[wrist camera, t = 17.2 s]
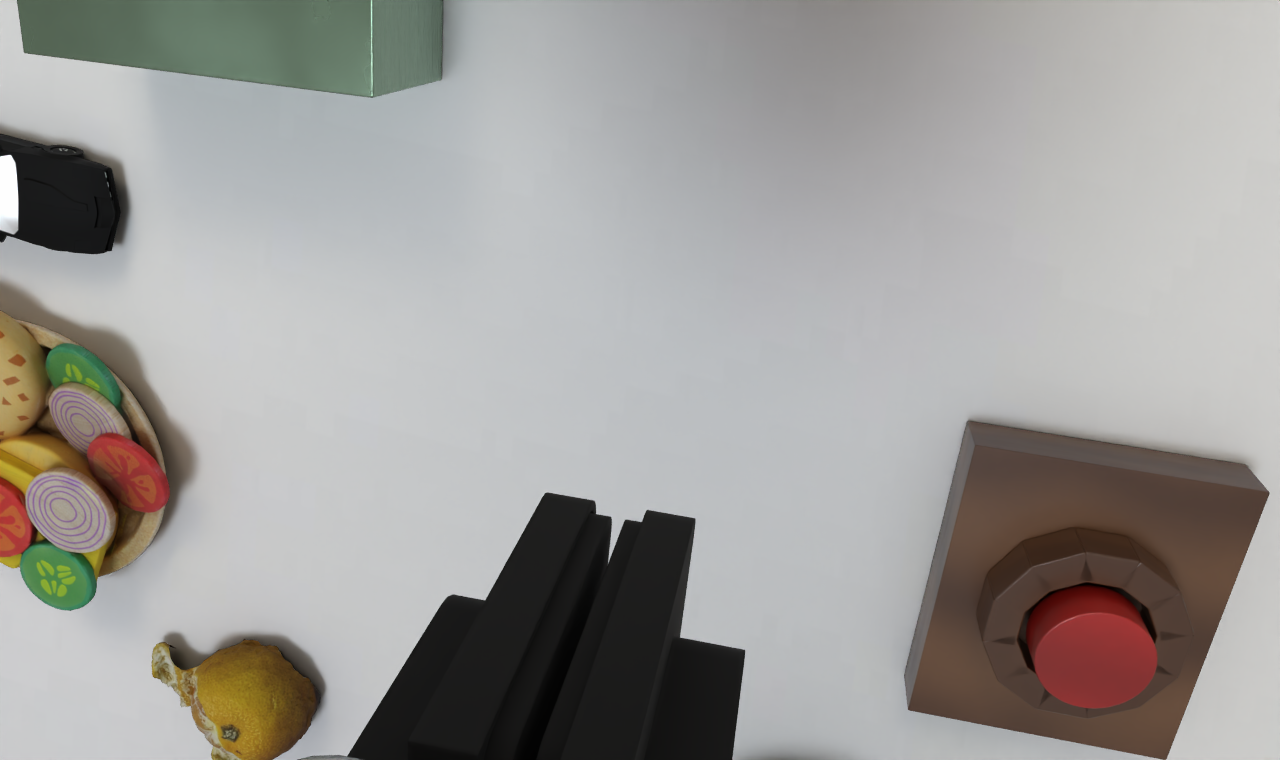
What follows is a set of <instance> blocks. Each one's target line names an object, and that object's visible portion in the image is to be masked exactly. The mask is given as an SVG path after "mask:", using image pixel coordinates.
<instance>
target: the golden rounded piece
mask: <svg viewBox="0 0 1280 760" xmlns="http://www.w3.org/2000/svg"><path fill="white" fill-rule="evenodd" d="M169 646H170V647H173V646H171V645H169V644H167V643H165V642H161V643H158V644H156V646H155V647H154V649H153V654H152V659H153V660H152V675H153V677H154V678H158V679H160V680H161V681H162V683H165V684H167V686H168V687H169V686H172V687H173V689H174V691H175V692H176V693H178V694H179V696H180V700H181V704H180V705H181V707H184V706H185V707H188V706H191V710H192V716H193V719H194V721H195V723H196V726H197V728H198V729H199V730H200V731H201V732H202V733H204V734H205V738H206V739H207V740H208V741H209V742H210V744H212V745H213V749H212V753H211V756H212V759H213V760H272V759H274V758H276V757H278V756H279V755H281V754H282V753H284V752H286V751H288V750H290V749H291V748H292V747H293V746H294V745H295V744H296V742H297V741H298V740H299V739H301V738H302V736H303V735H304V734H305V733H306V731H307V730H308V728H309V726H310V725H311V721H312V717H313V715H314V714H315V713H316V710H317V706H318V704H319V703H320V694H319V692H318V691H317V690H316V688H315V687H314V685H313V684H312V683H311V681H310V680H309V678H308V677H307V678H305V677H303V676H302V675H301V674H299V672H298V671H296V670H294V669H293V665H292V664H291V663H290V662H288V661H287V660H285V659H284V658H283V656H282V655H281V651H279V649H278V647H277V646H271V645H268V646H263V645H261V644H260V643H259V641H256V640H245V639H244V640H243V641H242V642H241V643H239V644H237V645H234V646H231V647H229V648H225V649H221V650H218V651H217V652H216V653H214V654H213V655H212V656H210V657H209V658H207V659H206V660H204V661H203V663H202V664H201V665H200V666H196V667H194V668H190V669H188V670H181V669H180V668H178V667H176V666H175V665H174V664H173V662H172V660H171V658H170V651H169ZM173 648H174V647H173Z"/></svg>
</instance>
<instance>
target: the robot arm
mask: <svg viewBox="0 0 1280 760" xmlns="http://www.w3.org/2000/svg"><path fill="white" fill-rule="evenodd" d="M611 526H612V519H611V517H609V516H603V515H597V514H596V504H595V501H593V500H587V499H581V498H576V497H570V496H564V495H558V494H553V493H545V494H544V496H543V497H542V499H541V501H540V503H539V504H538V506H537V508H536V510H535V512H534V513H533V515H532V517H531V519H530V521H529V523H528V524H527V526H526V528H525V530H524V532H523V533H522V535H521V537H520V539H519V541H518V542H517V544H516V546H515V548H514V550H513V551H512V553H511V555H510V557H509V559H508V560H507V562H506V564H505V566H504V568H503V570H502V571H501V573H500V575H499V577H498V579H497V580H496V582H495V584H494V586H493V588H492V589H491V591H490V593H489V595H488V597H487V598H486V600H479V599H474V598H469V597H463V596H458V595H451V596H448V597H447V598H446V599H445V601H444V602H443V603H442V604H441V606H440V608H439V609H438V611H437V612H436V614H435V616H434V617H433V619H432V620H431V622H430V624H429V625H428V627H427V629H426V630H425V632H424V633H423V635H422V637H421V638H420V640H419V641H418V643H417V645H416V646H415V648H414V649H413V651H412V653H411V654H410V656H409V658H408V659H407V661H406V662H405V664H404V666H403V667H402V669H401V670H400V672H399V674H398V675H397V677H396V679H395V680H394V682H393V683H392V685H391V687H390V688H389V690H388V691H387V693H386V695H385V696H384V698H383V699H382V701H381V703H380V704H379V706H378V708H377V709H376V711H375V712H374V714H373V716H372V717H371V719H370V720H369V722H368V724H367V725H366V727H365V729H364V730H363V732H362V733H361V735H360V737H359V738H358V740H357V741H356V743H355V745H354V746H353V748H352V749H351V751H350V753H349V754H348V756H342V755H328V756H310V757H306V758H302V759H298V760H732V756H733V748H734V739H735V731H736V723H737V715H738V707H739V699H740V691H741V683H742V675H743V667H744V658H745V650H742V649H737V648H732V647H726V646H721V645H716V644H711V643H705V642H700V641H695V640H690V639H684V638H680V632H681V625H682V617H683V610H684V603H685V596H686V588H687V581H688V574H689V567H690V560H691V552H692V545H693V538H694V530H695V518H690V517H684V516H678V515H673V514H667V513H661V512H656V511H650V510H647V511H646V513H645V515H644V518H643V521H642V522H637V521H631V520H625V522H624V524H623V526H622V529H621V532H620V534H619V537H618V540H617V542H616V545H615V548H614V550H613V553H612V556H611V558H610V561H609V563H608V557H609V547H610V538H611Z"/></svg>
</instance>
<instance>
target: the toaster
mask: <svg viewBox="0 0 1280 760" xmlns="http://www.w3.org/2000/svg"><path fill="white" fill-rule="evenodd" d="M17 4H18V11H19V19H20V26H21V34H22V42H23V49H24V53H28V54H35V55H43V56H51V57H59V58H67V59H74V60H82V61H90V62H98V63H106V64H113V65H121V66H129V67H137V68H144V69H152V70H160V71H168V72H176V73H183V74H191V75H199V76H207V77H215V78H222V79H230V80H238V81H246V82H254V83H261V84H269V85H277V86H285V87H293V88H300V89H308V90H316V91H324V92H331V93H339V94H347V95H355V96H363V97H370V98H373V97H377V96H381V95H385V94H389V93H393V92H397V91H401V90H405V89H408V88H412V87H416V86H420V85H424V84H428V83H432V82H436V81H440V80H441V61H442V15H443V0H17Z"/></svg>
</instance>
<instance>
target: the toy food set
mask: <svg viewBox="0 0 1280 760" xmlns="http://www.w3.org/2000/svg"><path fill="white" fill-rule="evenodd" d="M169 495H170V490H169V483H168V481H167V477H166V472H165V465H164V460H163V455H162V452H161V448H160V445H159V442H158V440H157V437H156V435H155V432H154V430H153V428H152V426H151V424H150V422H149V420H148V418H147V416H146V414H145V412H144V411H143V409H142V408H141V406H140V404H139V403H138V401H137V400H136V398H135V397H134V396H133V394H132V393H131V391H130V390H129V389H128V388H127V387H126V385H125V384H124V383H123V382H122V381H121V380H120V379H119V378H118V377H117V376H116V375H115V374H114V373H113V372H112V371H111V370H110V369H109V368H108V367H107V366H106V365H105V364H104V363H103V362H102V361H101V360H100V359H99V358H98V357H97V356H95V355H94V354H93V353H91V352H90V351H88V350H87V349H85V348H84V347H82V346H80V345H78V344H77V343H75V342H74V341H72V340H70V339H68V338H67V337H65V336H63V335H61V334H59V333H57V332H54V331H52V330H50V329H47V328H45V327H42V326H39V325H36V324H32V323H29V322H26V321H21V320H15V319H13V318H11V317H10V316H9V315H7V314H6V313H4V312H3V311H1V310H0V562H1V563H3V564H4V565H6V566H8V567H11V568H17V567H19V568H20V571H21V575H22V578H23V580H24V581H25V583H26V585H27V587H28V588H29V589H30V590H31V592H32V593H33V594H34V595H35V596H37V597H38V598H39V599H40V600H42V601H43V602H44V603H46V604H48V605H50V606H52V607H54V608H57V609H61V610H70V611H71V610H74V609H78V608H81V607H83V606H85V605H86V604H87V603H89V602H90V601H91V600H92V598H93V597H94V596H95V593H96V588H97V578H98V577H100V576H103V575H106V574H109V573H112V572H115V571H117V570H119V569H121V568H123V567H125V566H127V565H129V564H130V563H132V562H133V561H134V560H135V559H137V558H138V557H139V556H140V555H141V554H142V553H143V552H144V551H145V550H146V548H147V547H148V546H149V545H150V543H151V542H152V540H153V539H154V537H155V535H156V533H157V531H158V529H159V527H160V524H161V521H162V518H163V514H164V510H165V505H166V504H167V502H168V499H169Z"/></svg>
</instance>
